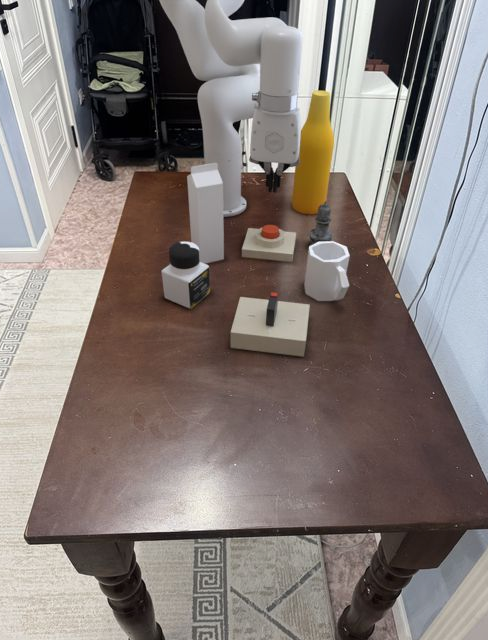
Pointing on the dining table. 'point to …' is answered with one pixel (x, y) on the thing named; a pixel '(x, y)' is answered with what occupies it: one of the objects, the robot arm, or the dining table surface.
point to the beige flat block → (270, 327)
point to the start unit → (269, 245)
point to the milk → (206, 211)
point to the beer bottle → (314, 157)
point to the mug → (327, 271)
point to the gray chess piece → (321, 225)
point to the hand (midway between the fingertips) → (272, 189)
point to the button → (270, 231)
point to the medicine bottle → (185, 275)
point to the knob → (272, 309)
